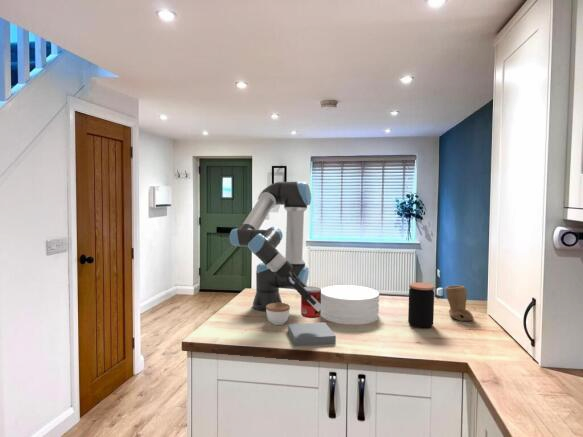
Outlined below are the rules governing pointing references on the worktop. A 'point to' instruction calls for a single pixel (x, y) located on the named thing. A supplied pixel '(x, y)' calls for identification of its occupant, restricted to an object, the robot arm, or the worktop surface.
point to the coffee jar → (421, 305)
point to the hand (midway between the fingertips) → (319, 306)
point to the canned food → (306, 307)
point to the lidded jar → (277, 313)
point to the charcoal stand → (311, 334)
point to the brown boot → (458, 302)
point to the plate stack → (349, 304)
